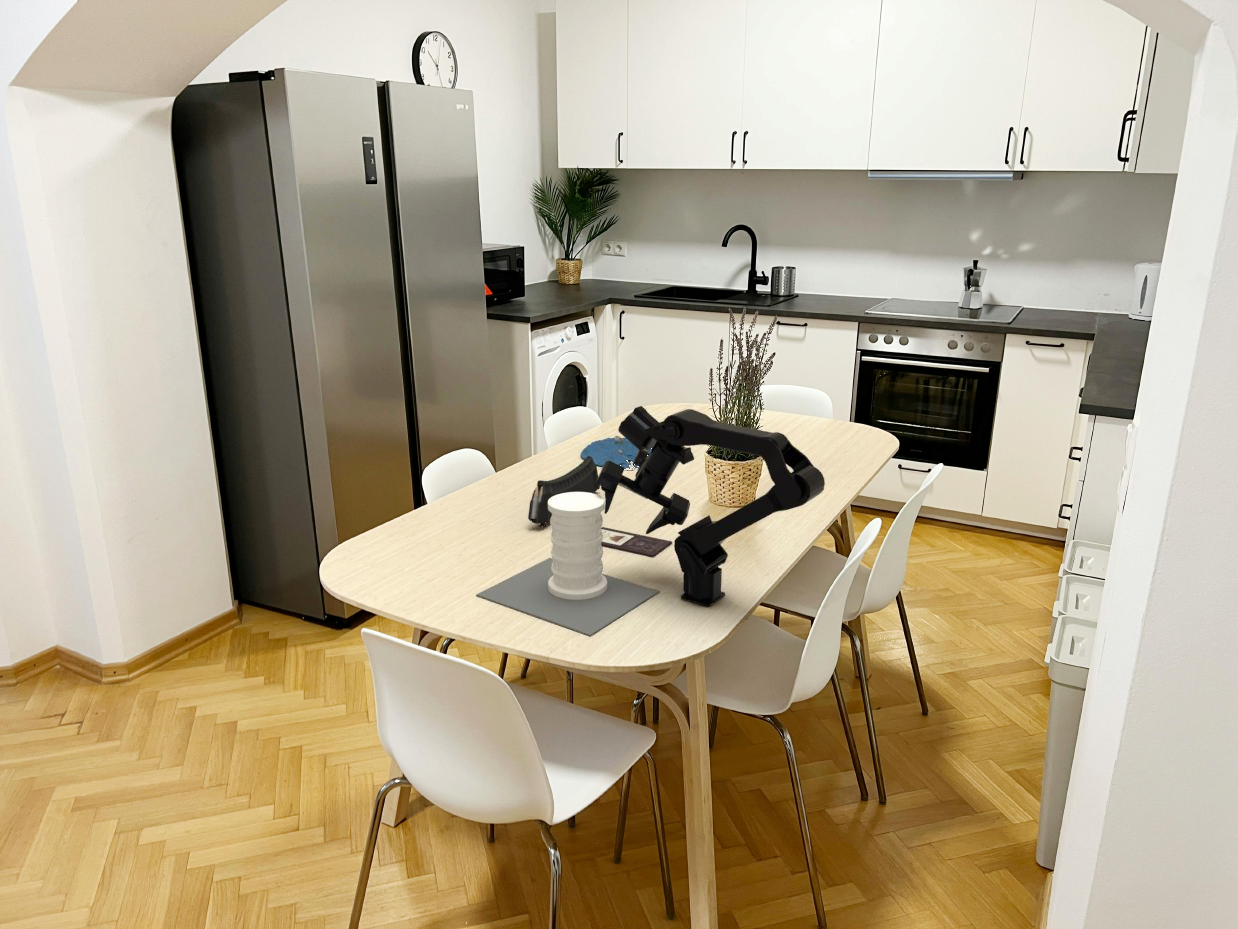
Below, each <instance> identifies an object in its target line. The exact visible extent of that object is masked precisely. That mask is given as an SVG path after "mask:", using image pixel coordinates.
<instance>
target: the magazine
mask: <svg viewBox="0 0 1238 929" xmlns="http://www.w3.org/2000/svg"><path fill="white" fill-rule="evenodd" d="M598 477H599V473H598V465H596V464H595V463H594V461H593V458H592V457H591V456H587V457H586V459H585V460H584V459H583V461H582V462H581V463H580V464H578V465H577V466H576V467H574V468H573V469H571V470H570V471H568V472H567V473H565V474H563V475H561V476H558V477H556V478H553V479H550V480H542V479H541V480H540V479H539V480H537V483H536V487H535V489H534V490H533V493H532V496H531V499H530V501H529V505H528V506H529V508H528V515H527V518H528V520H529V521H530V522H531V523H532V524H536V525H537V524H539V527H541V526H542V527H543V528H545V525H546V523H550V519H551V516H552V513H551V512H550V511H549V510H548V500H549V499H550V498H551V497H553V496H555V495H558V494H562V493H568V492H587V493H593V494H596V492H597V491H599V490H601V486H600V485H598V484H597V479H598Z"/></svg>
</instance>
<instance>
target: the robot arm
mask: <svg viewBox="0 0 1238 929" xmlns="http://www.w3.org/2000/svg"><path fill="white" fill-rule="evenodd" d="M617 429H618V430H617V432H619V434H621V436H623V438H626V439H627V440H628V441H630V442H631V443H632V444H633V445H634V446H635V447H636V448H637V449H639V451H638V453H637V455H636V456H635V458H634V461H633V463H632V464H635V465H637V466H639V469H637V470H636V472H635V478H634V479H631V478H629V477H627V476H625V475H623V473H624V472H625V470H624V469H625V468H624V467H622V466H620V465H618V464H616V463H614V462H612V461H610V460H609V461H607V462H605V464H604V465H603V466H601V468H600V469H601V470H600V472H599V473H598V479H597V484H598V485H600V490H601V491H603V492H604V496H605V498H604V501H605V508H604V514H605V515H607V513H608V512H609V510H610V508H611V504H612V502H613V499H614V496H615V494H616V491H617V488H618V486H620V487H621V488H624V489H626V490H627V491H630V492H632V493H633V494H636V495H637V496H640V497H642V498H643V499H646V500H649V501H651V502H654V503H656V504H657V505H660V506H661V507H662V508H661V509H660V511H659V512H658V514H657V515H656V516H655V517H654V519H653V520H652V522H650V524H649V525H648V527H647V529H646V531H645V535H648V534H651V533H653V532H655V531H657V529H660V528H662V527H665V526H667V525H671V526H675V525H677V526H682V525H684V523H685V522H686V520H687V518H688V515H689V511H690V507H691V502H690V499H688V498H685V497H683V496H682V495H679V494H677V493H675V492H672V494H671V496H670V497H669V496H666V495H665V494H663V493H662V491H663V490H664V488H665V487H666V485H667V484H668V482H669V481H670V478H671V477H672V475H673V473H674V472H675V470H676V469H677V467H678V465H679V463H681V464H682V465H686V464H689V463H690V462H692V461H694V460H695V456H694V453H693V452H692V446H703V445H704V446H705V445H706V446H712V447H716V448H720V449H726V450H731V451H735V452H739V453H744V454H749V455H754V456H759V457H761V458H762V460H763V461H764V463H765V465H766V467H767V468H766V469H767V470H768V474H769V477H770V479H771V481H772V482H773V484H774V485H772V487H771V488H770V489H769V490H768V491H767V492H766V493H765V494H763V495H761V496H760V497H758V498H756V499H755V500H752V501H751V502H749V503H747V504H746V505H744V506H742V507H740V508H738V509H737V510H734V511H733V512H731V513H729V514H727V515H725V516H724V517H722V518H720V519H717V520H712V518H711V515H710V514H709V515H707V516H705V517H703V518H701V519H699V520H698V521H695V522H694V523H692V524H691V525H689V526H687V527H685V528H683V529H682V530H679V531H678V532H677V534H678V536H677V537H676V538H675V539H674V541H673V543H674V545H673V548H674V552H675V554H676V556H677V560H678V564H679V567H680V570H681V572H682V573H683V577H682V578H683V582H682V583H683V584H682V590H683V592H684V593H682V594H681V595H680V599H682V600H685V601H688V602H691V603H694V604H698V605H701V606H703V607H711V606H712V605H714V604H715V603H716V602H718V601H719V600H721V599H722V598H723V596H724V597H725V596H726V592H724V591H722V576H723V575H722V573H723V572H722V571H723V568H721V567H720V566H721V565H723V564H725V563H726V562H727V560H728V556H729V554H728V552H727V550H726V549H724V547H723V545H722V544H723V543H724V542H725V541H726V540H727V539H728V538H729V537H731V536H733V535H735V534H737V533H739V532H741V531H743V530H745V529H746V528H748V527H750V526H752V525H754V524H755V523H757V522H760V521H761V520H763V519H765V518H767V517H769V516H771V515H772V514H775V513H777V512H784V511H789V510H792V509H795V508H798V507H802V506H804V505H805V504H807V503H808V502H810V501H812V500H813V499H815V498H816V497H817V496H819V495H820V494H822V493H823V491H824V490H825V486H826V485H825V484H826V482H825V477H824V475H823V473H822V472H821V470H820V469H818V468H817V467H816V466H814V465H813V463H812V462H811V460H810V459H809V458H808V456H806V454H804V452H802V451H800V450H799V449H798V448H797V447H795V446H794V445H793V444H792V443H791V441H790V440H789V438H788V437H787V436H786V435H785V434H784V433H781V432H777V431H775V432H770V431H766V430H762V429H757V428H751V427H746V426H741V425H736V424H735V425H734V424H730V423H725V422H720V421H717V420H714V419H712V418H711V417H709V416H708V414H706V413H704V412H700V411H698V410H695V409H693V408H686V409H683V410H680V411H678V412H675V413H672V414H671V415H667V417H665V418H664V420H663V421H660V422H659V421H658V420H657V419H656V418H654V416H653V415H651V413H649V412H648V410H647V409H646V408H644V407H643V406H642V405H640V406H637V407H634V409H633V411H632V412H630V413H629V414H628V415H627V416H626V417H625V418H624V419H623V420H622V421H621V422H620V424H619V426H618V428H617ZM651 448H653V449H652V450H651V452H650V453H648V452H647V451H645V450H644V449H646V450H650V449H651ZM648 454H649V455H648ZM647 455H648V456H647ZM788 467H789V468H790V469H791V470H792V472H791V471H790V470H789V468H788Z"/></svg>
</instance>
